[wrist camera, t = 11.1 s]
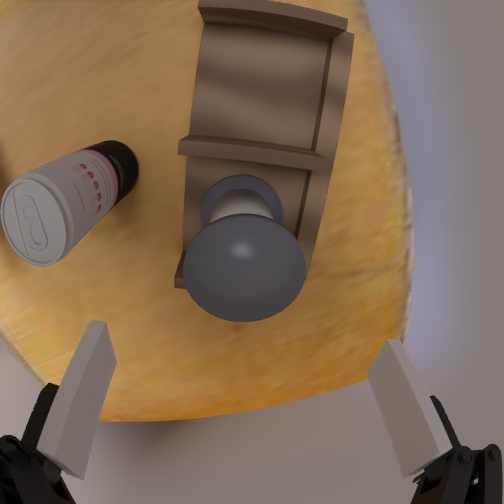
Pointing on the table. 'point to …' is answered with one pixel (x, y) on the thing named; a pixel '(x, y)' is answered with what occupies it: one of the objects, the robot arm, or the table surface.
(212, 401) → the table surface
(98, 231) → the table surface
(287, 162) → the wooden divided tray
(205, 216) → the cable reel
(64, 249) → the beverage can
